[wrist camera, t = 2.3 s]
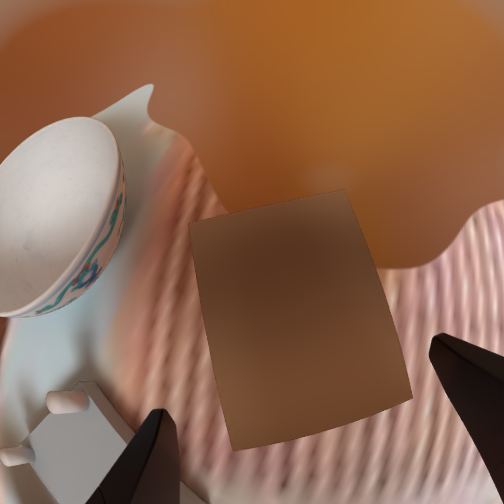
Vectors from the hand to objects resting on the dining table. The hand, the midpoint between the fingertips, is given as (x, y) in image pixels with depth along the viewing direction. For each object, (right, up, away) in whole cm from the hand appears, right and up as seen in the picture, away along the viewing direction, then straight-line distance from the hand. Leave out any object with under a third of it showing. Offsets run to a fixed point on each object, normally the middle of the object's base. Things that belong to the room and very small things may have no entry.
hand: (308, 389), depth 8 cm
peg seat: (-12, -12, +6) cm, 18 cm away
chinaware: (-16, +4, +14) cm, 22 cm away
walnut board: (0, -2, +10) cm, 10 cm away
